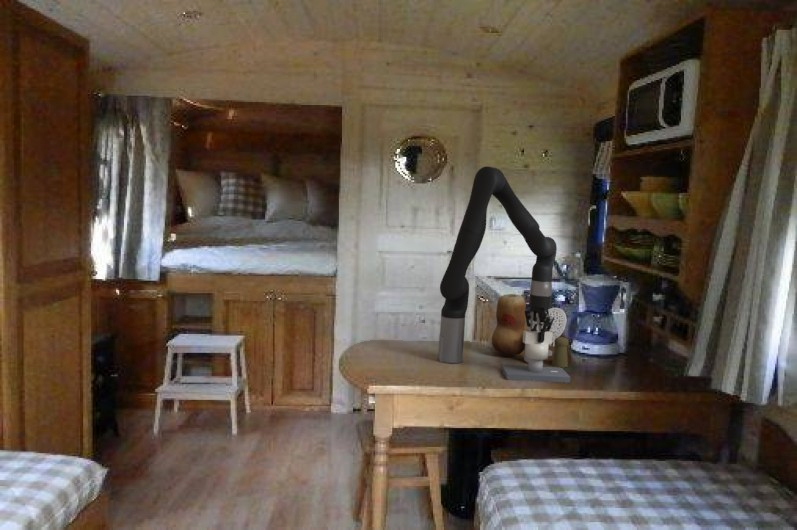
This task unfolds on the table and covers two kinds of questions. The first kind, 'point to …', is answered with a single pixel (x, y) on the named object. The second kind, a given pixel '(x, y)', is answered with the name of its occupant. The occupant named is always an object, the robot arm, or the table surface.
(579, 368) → the table surface
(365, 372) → the table surface
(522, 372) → the baseplate
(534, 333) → the coupling
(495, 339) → the butternut squash
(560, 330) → the decorative heart
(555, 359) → the cork
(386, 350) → the table surface
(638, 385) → the table surface
